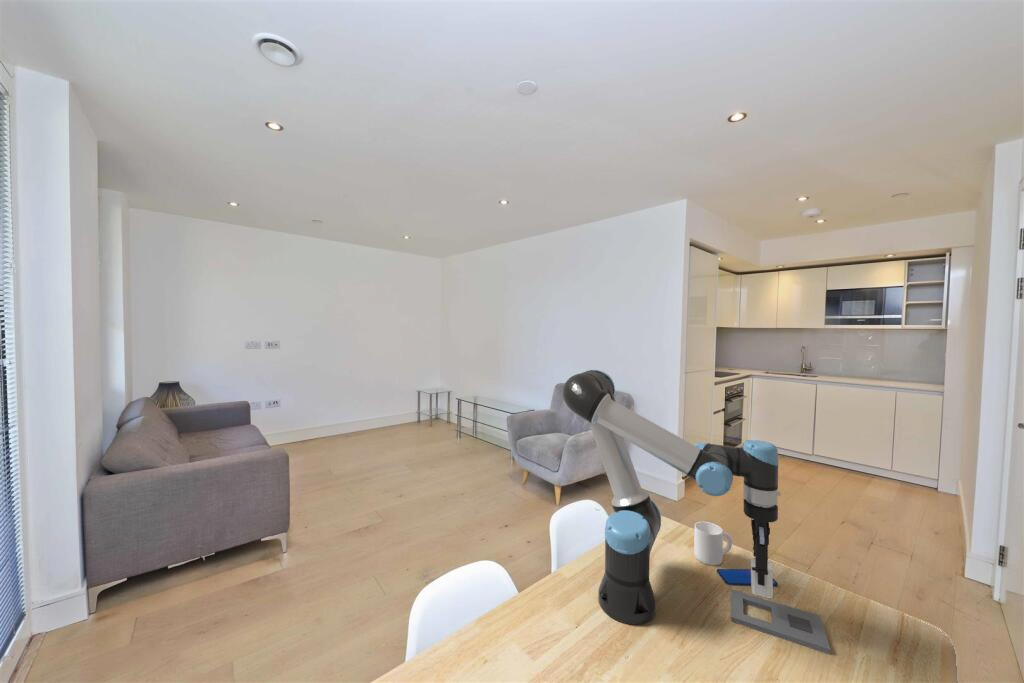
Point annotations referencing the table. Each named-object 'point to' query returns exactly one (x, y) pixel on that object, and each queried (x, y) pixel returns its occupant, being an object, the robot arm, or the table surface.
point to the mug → (710, 543)
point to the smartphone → (738, 577)
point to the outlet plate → (781, 621)
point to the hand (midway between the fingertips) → (760, 588)
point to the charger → (769, 579)
